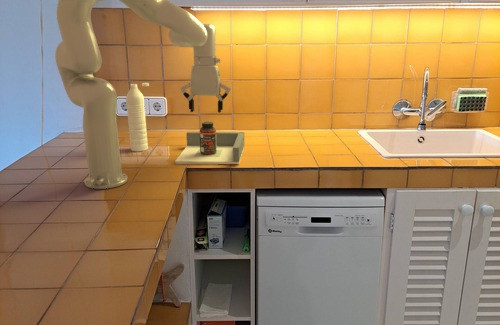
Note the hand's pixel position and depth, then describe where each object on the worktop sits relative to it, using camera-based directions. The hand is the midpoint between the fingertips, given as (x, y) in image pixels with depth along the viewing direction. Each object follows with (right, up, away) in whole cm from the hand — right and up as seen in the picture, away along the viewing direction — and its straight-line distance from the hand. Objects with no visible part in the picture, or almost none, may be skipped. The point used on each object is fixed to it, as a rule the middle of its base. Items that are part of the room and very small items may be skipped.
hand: (206, 111), depth 158 cm
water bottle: (-26, -13, +15) cm, 32 cm away
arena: (+2, -15, +6) cm, 16 cm away
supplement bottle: (+1, -15, +5) cm, 15 cm away
